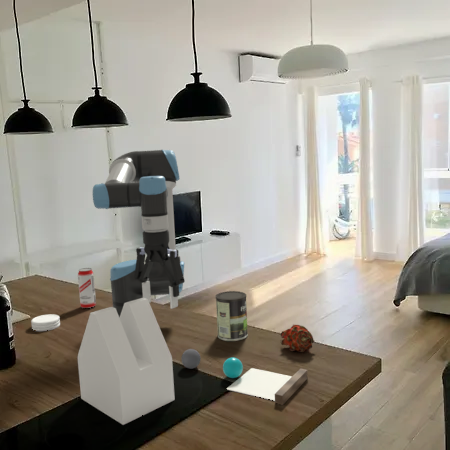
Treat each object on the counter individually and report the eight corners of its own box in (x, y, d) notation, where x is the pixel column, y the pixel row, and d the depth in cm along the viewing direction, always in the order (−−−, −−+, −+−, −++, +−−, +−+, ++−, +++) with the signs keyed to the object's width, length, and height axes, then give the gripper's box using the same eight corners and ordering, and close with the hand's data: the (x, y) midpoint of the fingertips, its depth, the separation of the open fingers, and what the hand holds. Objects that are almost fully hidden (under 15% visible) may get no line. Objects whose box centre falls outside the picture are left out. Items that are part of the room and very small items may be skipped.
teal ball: (229, 371, 142) (228, 352, 142) (246, 375, 140) (246, 356, 139) (219, 379, 138) (218, 360, 137) (236, 383, 135) (236, 363, 134)
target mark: (251, 368, 144) (251, 367, 144) (297, 378, 136) (297, 377, 136) (226, 389, 132) (226, 388, 132) (274, 401, 125) (274, 400, 124)
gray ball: (189, 362, 150) (188, 344, 149) (204, 365, 147) (203, 347, 146) (178, 369, 145) (177, 351, 144) (193, 373, 142) (192, 354, 141)
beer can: (94, 309, 206) (90, 270, 203) (78, 309, 206) (75, 271, 204) (98, 304, 212) (94, 267, 210) (83, 305, 212) (79, 267, 210)
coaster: (54, 331, 182) (53, 322, 182) (27, 332, 182) (26, 323, 182) (64, 322, 192) (63, 313, 192) (38, 323, 192) (37, 314, 192)
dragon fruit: (312, 361, 150) (283, 356, 159) (324, 338, 155) (295, 334, 164) (298, 343, 147) (269, 339, 156) (311, 320, 151) (281, 317, 160)
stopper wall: (300, 377, 137) (300, 368, 137) (307, 378, 136) (307, 369, 135) (275, 403, 123) (274, 393, 123) (282, 405, 122) (282, 395, 122)
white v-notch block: (174, 400, 128) (168, 305, 124) (123, 425, 117) (114, 321, 113) (131, 378, 141) (124, 291, 137) (81, 399, 130) (72, 305, 127)
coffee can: (250, 330, 174) (248, 290, 172) (245, 341, 164) (243, 299, 162) (220, 329, 176) (219, 290, 174) (214, 340, 166) (212, 299, 164)
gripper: (117, 230, 148) (123, 304, 151) (178, 234, 136) (183, 313, 140) (135, 226, 154) (140, 297, 157) (194, 229, 143) (198, 306, 146)
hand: (160, 305), depth 149 cm, fingers open, 9 cm apart
